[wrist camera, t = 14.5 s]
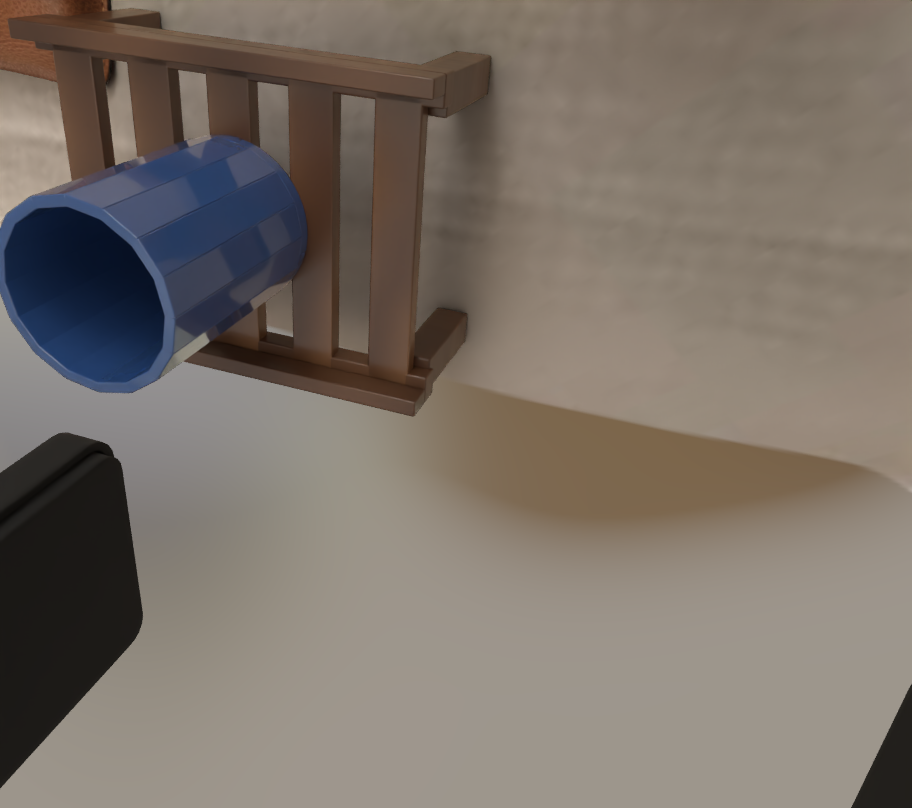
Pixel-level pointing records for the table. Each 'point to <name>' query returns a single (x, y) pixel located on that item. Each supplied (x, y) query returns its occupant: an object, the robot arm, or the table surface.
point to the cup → (149, 259)
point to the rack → (311, 170)
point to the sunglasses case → (22, 55)
